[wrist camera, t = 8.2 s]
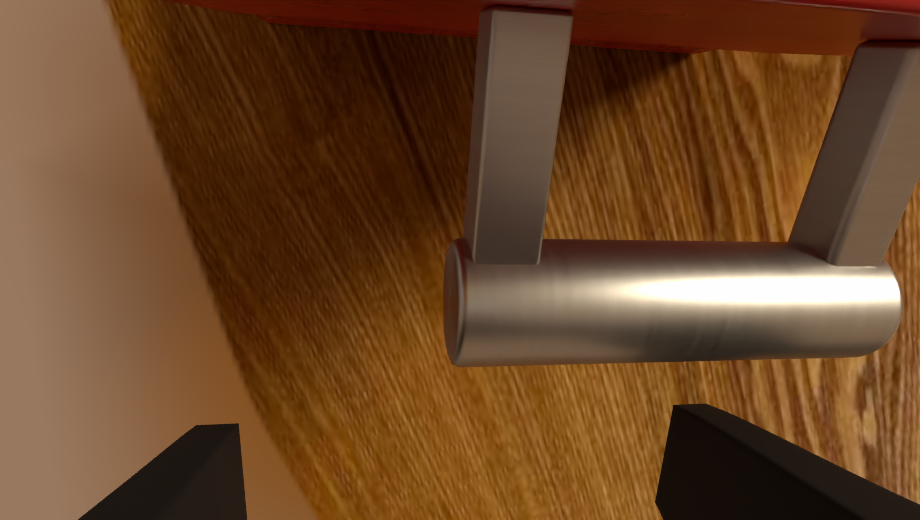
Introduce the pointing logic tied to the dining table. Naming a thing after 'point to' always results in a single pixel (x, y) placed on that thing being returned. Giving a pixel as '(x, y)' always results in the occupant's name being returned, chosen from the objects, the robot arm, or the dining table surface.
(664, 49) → the red box base
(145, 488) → the robot arm
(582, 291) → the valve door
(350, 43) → the dining table surface
